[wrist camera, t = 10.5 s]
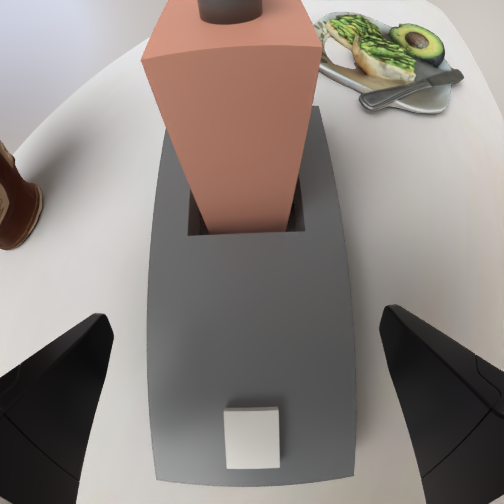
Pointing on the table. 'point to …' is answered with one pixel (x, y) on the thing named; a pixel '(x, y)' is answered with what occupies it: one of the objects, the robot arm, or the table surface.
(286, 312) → the grey slotted holder
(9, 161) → the coffee cup
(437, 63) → the salad plate
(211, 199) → the pink capped bottle
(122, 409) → the table surface
